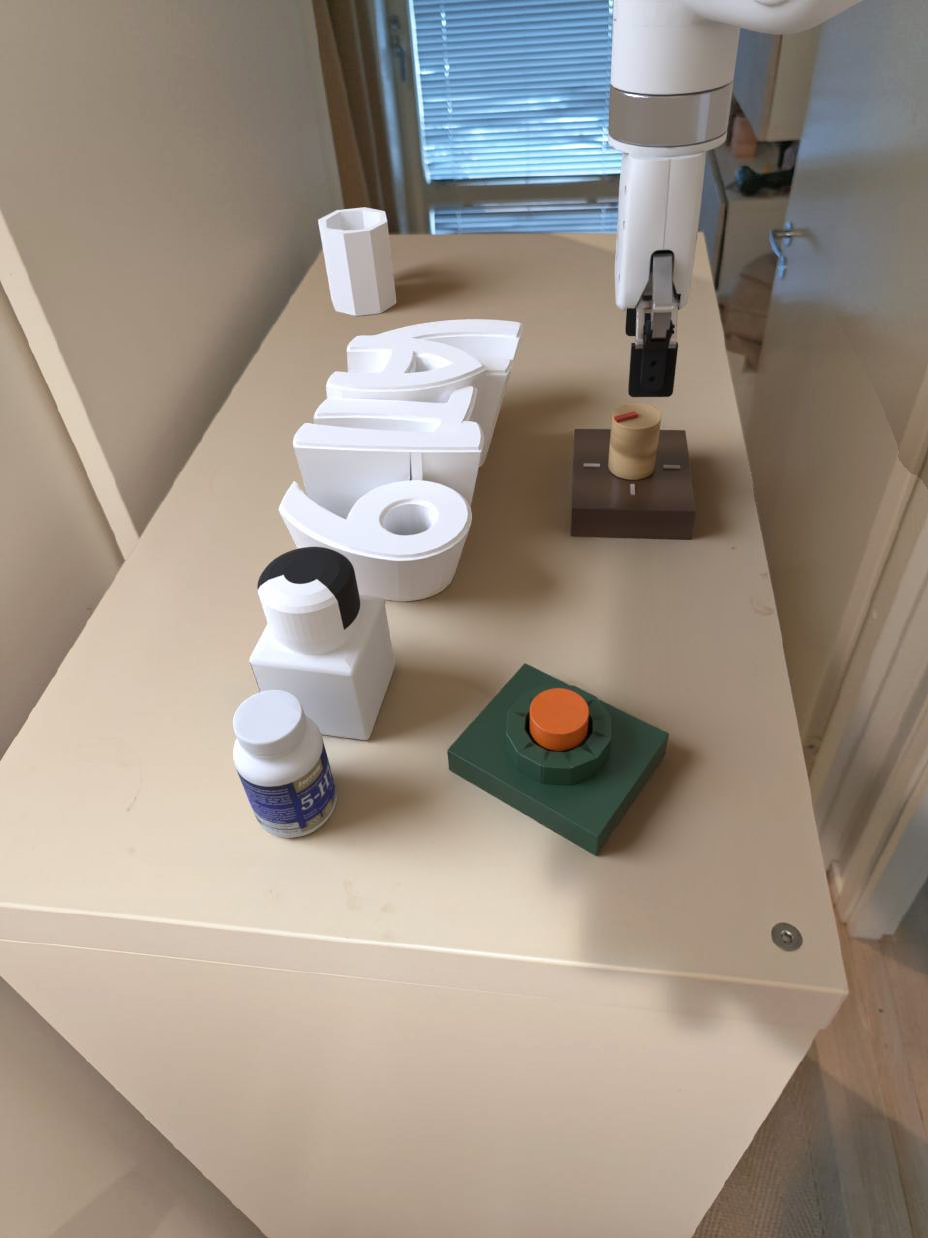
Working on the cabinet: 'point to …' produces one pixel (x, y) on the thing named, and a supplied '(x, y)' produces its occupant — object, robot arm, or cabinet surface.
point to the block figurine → (324, 641)
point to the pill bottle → (283, 764)
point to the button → (559, 719)
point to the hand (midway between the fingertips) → (647, 363)
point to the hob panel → (631, 491)
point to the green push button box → (559, 761)
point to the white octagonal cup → (358, 260)
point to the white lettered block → (402, 452)
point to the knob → (634, 441)
